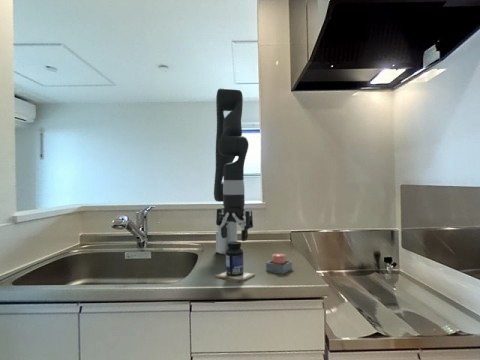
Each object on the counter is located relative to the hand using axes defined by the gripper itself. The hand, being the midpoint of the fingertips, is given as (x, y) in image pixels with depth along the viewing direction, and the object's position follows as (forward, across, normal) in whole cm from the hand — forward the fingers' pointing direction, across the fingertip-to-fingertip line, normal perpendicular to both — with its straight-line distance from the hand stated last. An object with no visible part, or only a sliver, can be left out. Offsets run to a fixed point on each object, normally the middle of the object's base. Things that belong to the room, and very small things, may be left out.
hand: (234, 239), depth 103 cm
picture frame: (+13, 0, 0) cm, 13 cm away
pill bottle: (+12, 0, 0) cm, 12 cm away
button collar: (+13, +10, +15) cm, 22 cm away
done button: (+12, +10, +15) cm, 21 cm away
